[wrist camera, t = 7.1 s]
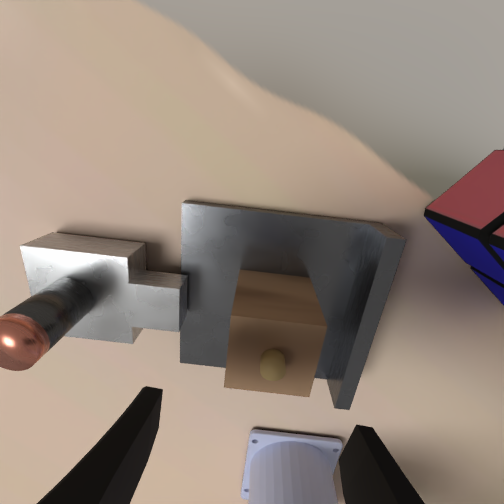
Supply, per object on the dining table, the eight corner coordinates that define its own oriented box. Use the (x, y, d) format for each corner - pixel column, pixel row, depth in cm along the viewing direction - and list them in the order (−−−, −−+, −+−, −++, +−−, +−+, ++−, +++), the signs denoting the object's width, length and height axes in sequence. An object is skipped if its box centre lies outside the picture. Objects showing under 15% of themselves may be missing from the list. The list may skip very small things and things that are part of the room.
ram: (189, 325, 20) (153, 412, 13) (65, 311, 20) (-30, 391, 13) (191, 248, 17) (150, 307, 11) (52, 232, 17) (-71, 282, 11)
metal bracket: (337, 372, 21) (349, 409, 18) (182, 354, 21) (169, 389, 18) (380, 222, 17) (406, 239, 14) (185, 200, 17) (168, 212, 14)
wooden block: (297, 335, 19) (311, 411, 13) (233, 327, 19) (221, 400, 13) (310, 277, 17) (331, 337, 12) (239, 269, 17) (228, 326, 12)
